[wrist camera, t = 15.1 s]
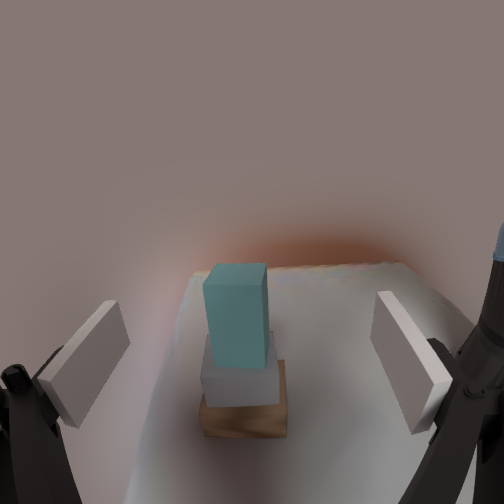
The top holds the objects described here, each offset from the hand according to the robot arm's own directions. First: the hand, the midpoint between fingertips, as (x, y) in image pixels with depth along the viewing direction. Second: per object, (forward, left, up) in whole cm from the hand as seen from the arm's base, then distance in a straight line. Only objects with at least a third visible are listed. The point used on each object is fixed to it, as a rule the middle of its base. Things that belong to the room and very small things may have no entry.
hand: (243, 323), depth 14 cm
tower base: (+2, -12, -21) cm, 24 cm away
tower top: (+2, -13, -16) cm, 21 cm away
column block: (+2, -13, -12) cm, 17 cm away
